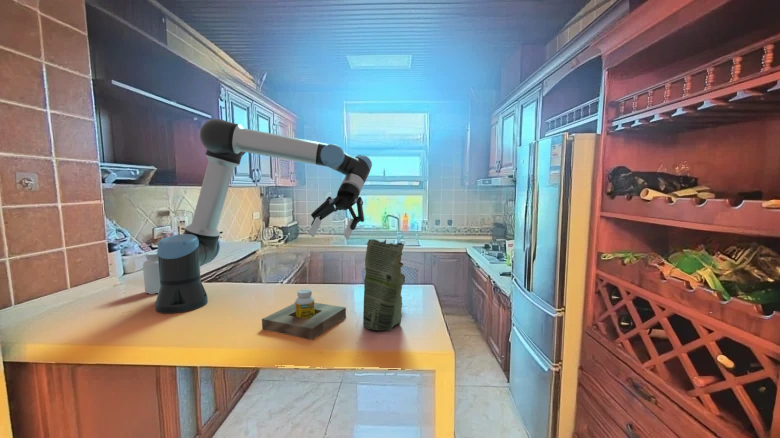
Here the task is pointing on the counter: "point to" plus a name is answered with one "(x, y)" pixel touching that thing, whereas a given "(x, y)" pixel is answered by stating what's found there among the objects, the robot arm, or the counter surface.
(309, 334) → the frame
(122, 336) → the counter surface
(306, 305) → the supplement bottle
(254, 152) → the robot arm
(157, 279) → the pill bottle
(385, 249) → the pouch
